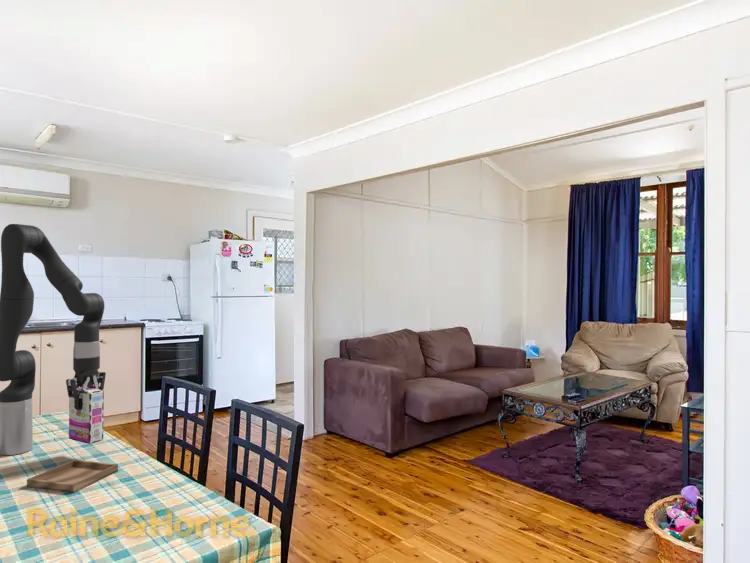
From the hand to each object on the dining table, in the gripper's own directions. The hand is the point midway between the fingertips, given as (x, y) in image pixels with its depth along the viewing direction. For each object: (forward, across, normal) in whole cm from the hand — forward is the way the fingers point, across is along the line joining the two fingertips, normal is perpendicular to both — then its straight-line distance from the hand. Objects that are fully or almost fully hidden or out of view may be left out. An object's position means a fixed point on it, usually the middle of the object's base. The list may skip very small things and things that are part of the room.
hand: (86, 407), depth 167 cm
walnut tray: (+16, +16, +11) cm, 25 cm away
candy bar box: (+11, 0, 0) cm, 11 cm away
